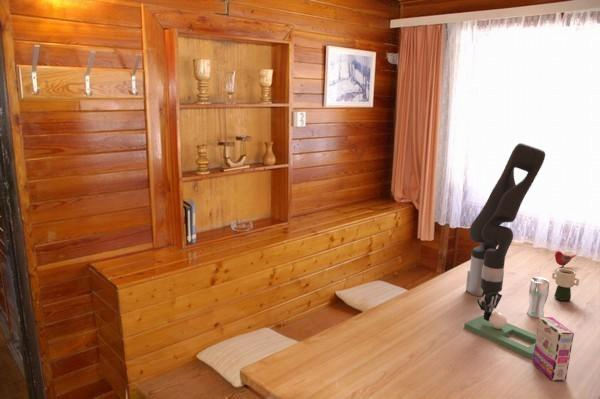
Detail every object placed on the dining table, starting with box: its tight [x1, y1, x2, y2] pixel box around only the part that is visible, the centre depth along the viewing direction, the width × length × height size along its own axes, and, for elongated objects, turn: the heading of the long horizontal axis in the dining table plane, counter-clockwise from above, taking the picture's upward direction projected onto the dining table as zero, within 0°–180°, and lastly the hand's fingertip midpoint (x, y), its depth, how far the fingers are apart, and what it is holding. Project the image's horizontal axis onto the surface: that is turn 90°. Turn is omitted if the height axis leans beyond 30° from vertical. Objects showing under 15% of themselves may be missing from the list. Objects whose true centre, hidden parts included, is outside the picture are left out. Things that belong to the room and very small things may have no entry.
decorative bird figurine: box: [554, 250, 578, 269], centre depth 242 cm, size 3×18×10 cm, turn 115°
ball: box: [489, 311, 508, 329], centre depth 174 cm, size 6×6×6 cm
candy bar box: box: [532, 316, 575, 382], centre depth 150 cm, size 11×5×16 cm, turn 5°
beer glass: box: [527, 276, 550, 319], centre depth 189 cm, size 7×7×15 cm
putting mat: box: [463, 314, 537, 360], centre depth 172 cm, size 26×14×2 cm, turn 37°
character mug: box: [551, 268, 580, 301], centre depth 204 cm, size 11×7×13 cm, turn 39°
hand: (487, 319), depth 177 cm, fingers closed
